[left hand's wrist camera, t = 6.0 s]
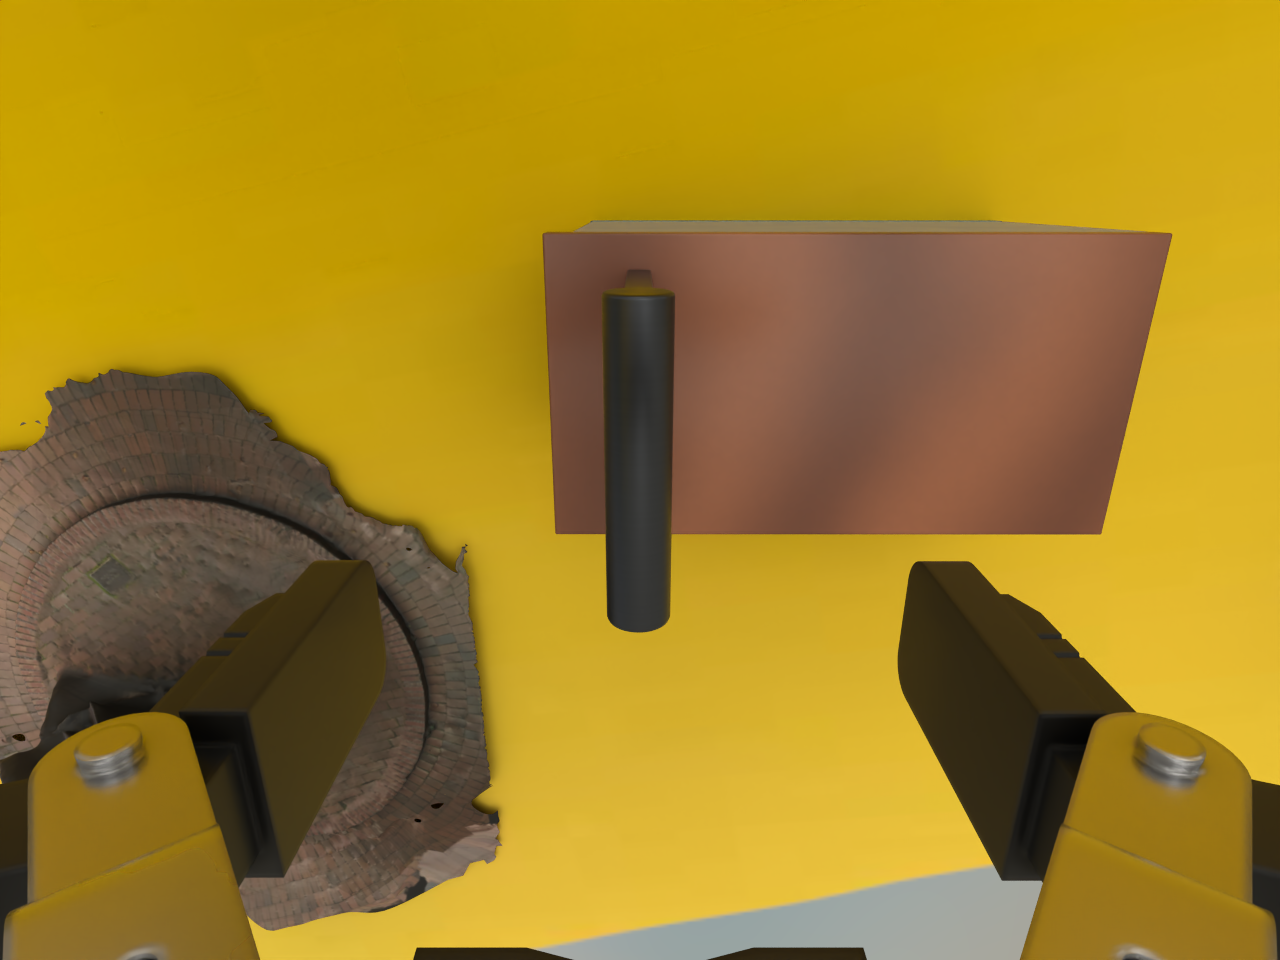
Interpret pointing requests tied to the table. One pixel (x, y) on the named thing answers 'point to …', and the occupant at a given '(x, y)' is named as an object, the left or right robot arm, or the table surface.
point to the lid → (836, 386)
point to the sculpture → (232, 620)
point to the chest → (829, 226)
